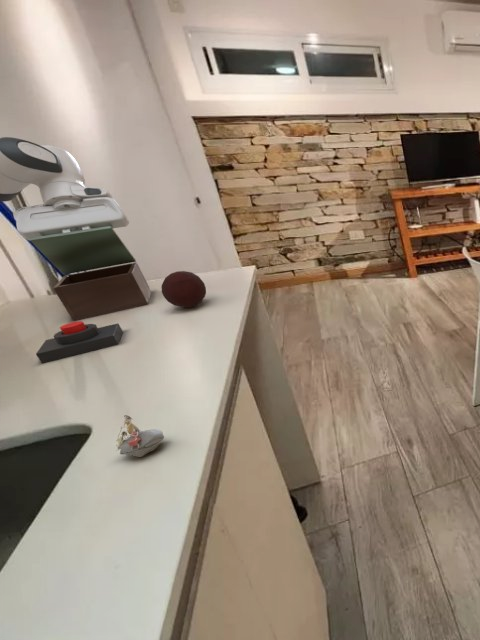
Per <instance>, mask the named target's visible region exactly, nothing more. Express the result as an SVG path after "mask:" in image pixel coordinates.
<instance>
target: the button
mask: <svg viewBox="0 0 480 640" xmlns="http://www.w3.org/2000/svg"><path fill="white" fill-rule="evenodd" d="M85 324H86V323H84V321H82V320H76V321H73V322H68V323H66V324H63V325H61V326H60V327H59V329H60V331H62V332H63V334H64V335H66V334H72V333H76V332H79V331H82V330H85V329H87V328H86V326H85Z"/></svg>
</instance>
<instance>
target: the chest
mask: <svg viewBox="0 0 480 640" xmlns="http://www.w3.org/2000/svg"><path fill="white" fill-rule="evenodd" d="M52 289H53V290H54V292H55V294H56V295H57V298H58V299H59V300H60V302H61V303H62V306H63V307H64V308H65V310H66V312H67V314H68V315H69V317H70V318H71V320H72V321H73V322H76V321H80V320H83V319H88V318H93V317H98V316H102V315H106V314H110V313H115V312H119V311H124V310H129V309H132V308H138V307H143V306H147V305H149V304H150V300H151V295H152V292H153V291H152V289H151V287H150V285H149V283H148V281H147V280H146V277H145V275H144V273H143V272H142V269H141V268H140V265H139V263H138V262H137V261H136V262H132V263H126V264H121V265H115V266H110V267H104V268H99V269H93V270H88V271H82V272H77V273H71V274H66V275H64V276H62V278H60V280H59V281H58V282H57V283H56V284H55V285H54V286H53V287H52Z"/></svg>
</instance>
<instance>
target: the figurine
mask: <svg viewBox="0 0 480 640" xmlns="http://www.w3.org/2000/svg"><path fill="white" fill-rule="evenodd" d="M123 418H124V421H123V425H122V426H121V427H120V430H119V433H118V435H117V439H116V440H115V441H116V442H117V444H116V451H119V455H126V456H132V457H133V456H134V457H138V458H139V457H140V458H142V457H144V456H146V455H148V453H151V452H153V451H155V450H156V449H157V448H158V447H159V446H160V445H161V442H162V441H163V440H164V439H165V435H164V433H163V431H162V430H160V429H147V430H142V431H141V429H139V427H137V426H136V425H135V424H134V423H132V420H133V418H132V417H131V416H130V415H127V414H124V415H123ZM125 425H126V426H125ZM123 428H126V429H127V430H126V431H122V429H123ZM128 434H129V435H128Z"/></svg>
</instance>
